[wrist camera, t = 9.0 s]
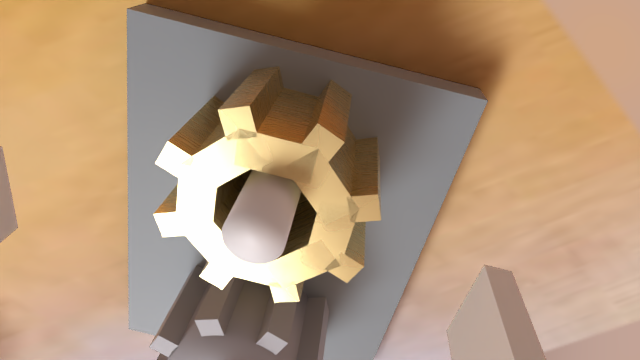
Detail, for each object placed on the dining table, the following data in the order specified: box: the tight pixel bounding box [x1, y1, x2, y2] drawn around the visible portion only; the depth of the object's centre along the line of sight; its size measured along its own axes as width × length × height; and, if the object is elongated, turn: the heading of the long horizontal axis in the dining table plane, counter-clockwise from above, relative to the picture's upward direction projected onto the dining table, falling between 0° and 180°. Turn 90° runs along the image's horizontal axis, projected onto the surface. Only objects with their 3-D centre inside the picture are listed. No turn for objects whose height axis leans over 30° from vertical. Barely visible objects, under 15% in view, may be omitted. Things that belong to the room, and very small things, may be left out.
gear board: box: [127, 3, 488, 360], centre depth 19 cm, size 18×14×8 cm
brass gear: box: [154, 66, 381, 303], centre depth 17 cm, size 8×8×4 cm
